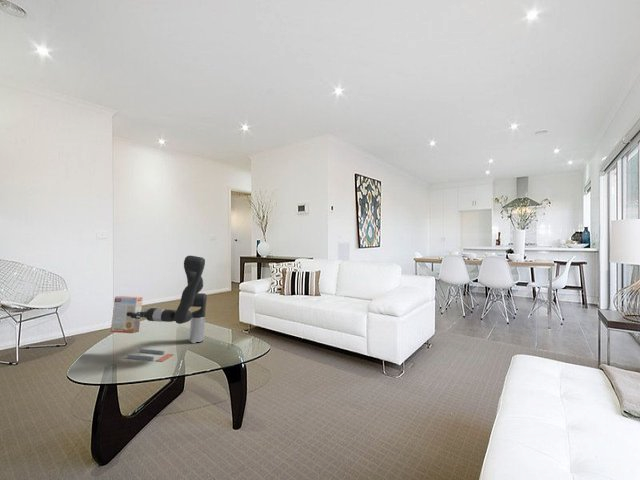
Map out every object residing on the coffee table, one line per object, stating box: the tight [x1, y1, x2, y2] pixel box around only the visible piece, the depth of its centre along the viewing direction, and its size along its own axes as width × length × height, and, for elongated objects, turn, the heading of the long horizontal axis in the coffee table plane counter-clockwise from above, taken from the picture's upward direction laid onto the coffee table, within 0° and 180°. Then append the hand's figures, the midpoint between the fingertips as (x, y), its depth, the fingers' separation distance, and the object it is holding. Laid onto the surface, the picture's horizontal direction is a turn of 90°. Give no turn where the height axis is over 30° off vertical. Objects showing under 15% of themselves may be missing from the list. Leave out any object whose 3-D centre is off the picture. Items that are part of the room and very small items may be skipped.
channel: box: [126, 348, 166, 361], centre depth 178 cm, size 11×16×2 cm, turn 84°
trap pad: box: [155, 353, 175, 362], centre depth 177 cm, size 11×4×1 cm, turn 174°
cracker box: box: [110, 295, 144, 334], centre depth 180 cm, size 14×6×21 cm, turn 85°
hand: (131, 312), depth 180 cm, fingers closed on cracker box, 6 cm apart
